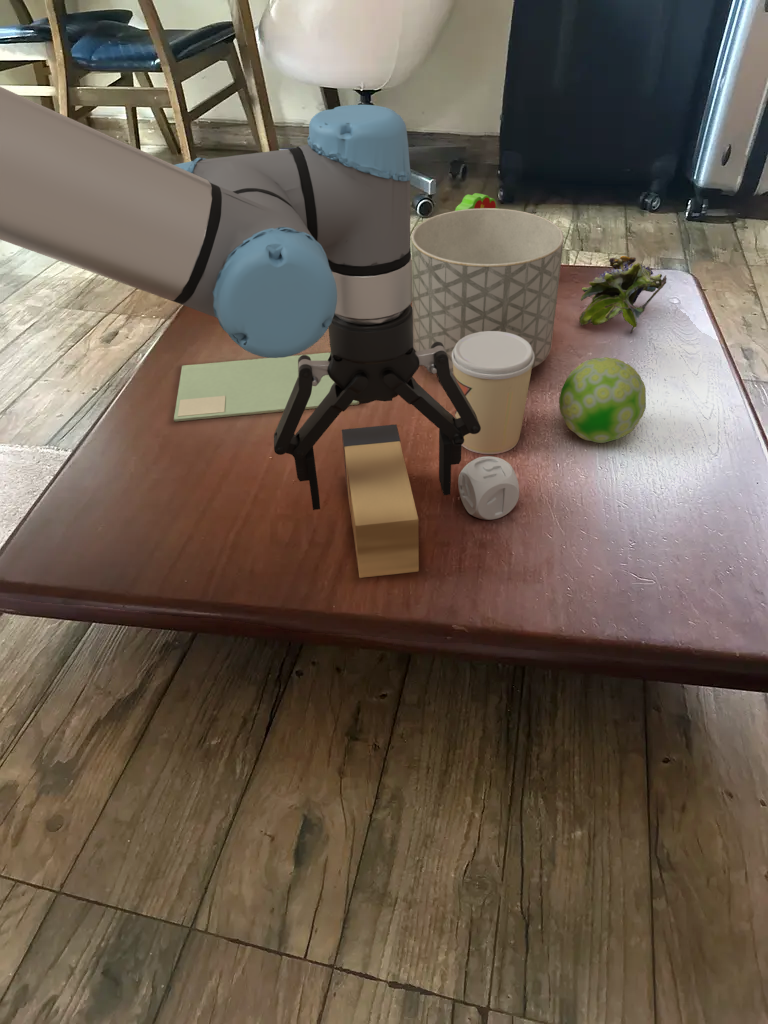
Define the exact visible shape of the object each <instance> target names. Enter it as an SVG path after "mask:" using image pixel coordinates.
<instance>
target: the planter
mask: <svg viewBox="0 0 768 1024" xmlns="http://www.w3.org/2000/svg"><path fill="white" fill-rule="evenodd" d="M498 208H499V207H498ZM498 208H476V209H465V210H457V211H455V210H452V211H448V212H443V213H440V214H437V215H434V216H432V217H428V218H427V219H425V220H423V221H421V223H419V224H417V225H416V227H414V229H413V230H412V232H411V236H410V246H411V267H412V302H411V306H412V309H413V347H414V349H415V351H416V352H417V351H422V350H427V349H431V346H432V344H433V343H435V342H441V343H442V344H443V346H444V348H445V351H446V354H447V356H448V360H449V368H450V370H451V372H452V374H453V362H452V351H453V349H454V347H455V345H456V344H457V342H458V341H459V340H460V339H462V338H463V337H465V336H467V335H470V334H473V333H477V332H484V331H500V332H507V333H511V334H514V335H517V336H519V337H521V338H523V339H525V340H526V341H527V342H528V343H529V344H530V345H531V347H532V350H533V352H534V363H533V365H532V369H534V368H535V367H538V366H539V365H540V364H542V363H543V362H544V361H546V359H547V358H548V356H549V355H550V353H551V350H552V345H553V337H554V336H553V335H554V327H555V318H556V309H557V301H558V291H559V284H560V283H559V282H560V275H561V267H562V257H563V256H562V255H563V250H564V239H565V238H564V237H565V236H564V233H563V230H562V229H561V228H560V227H559V226H558V225H557V224H556V223H555V222H554V221H551V220H549V219H548V218H545V217H544V216H540V215H538V214H534V213H531V212H527V211H522V210H518V209H517V210H516V209H510V208H509V209H508V208H499V209H498Z"/></svg>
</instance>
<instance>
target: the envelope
mask: <svg viewBox="0 0 768 1024" xmlns="http://www.w3.org/2000/svg"><path fill="white" fill-rule="evenodd" d="M330 353H331V351H330V352H319V353H308V354H306V355H307V356H309V357H310V358H311V361H328V359H329V357H330ZM302 355H303V354H295V355H292V356H287V357H282V358H267V357H261V358H252V359H242V360H229V361H220V362H207V363H196V364H186V365H181V370H180V377H179V383H178V389H177V394H176V395H177V396H176V403H175V408H174V416H173V422H174V423H175V422H186V421H187V422H188V421H197V420H208V419H217V418H218V419H219V418H230V417H239V416H240V417H241V416H250V415H251V416H252V415H258V414H259V415H261V414H271V413H283V412H284V409H285V407H286V405H287V402H288V400H289V397H290V395H291V393H292V390H293V388H294V385H295V383H296V380H297V378H298V359H299V357H300V356H302ZM333 384H334V381H333V380H332V379H331V378H330V377H329V375H325V376H323V377H322V378H321V380H320V382H319V384H317V386H312V392H311V395H310V398H309V401H308V403H307V405H306V407H305V410H313V409H314V410H315V409H316V408H317V407H318V406H319V404H320V403H321V402H322V401H323V399H324V398H325V397H326V396H327V394H328V393H329V391H330V389H331V386H332V385H333ZM355 405H357V406H358V405H360V402H359V401H355V400H353V402H352V403H351V404H350V405H349V406H355Z"/></svg>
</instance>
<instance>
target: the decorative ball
mask: <svg viewBox="0 0 768 1024" xmlns="http://www.w3.org/2000/svg"><path fill="white" fill-rule="evenodd" d="M646 392H647V388H646V384H645V382H644V381H643V379H642V377H641V375H640V374H639V373H638V371H637V370H636V369H635V368H634V367H633V366H631V365H630V364H629V363H626V362H625V361H623V360H621V359H618V358H615V357H607V356H605V357H594V358H590V359H587V360H585V361H584V362H581V363H580V364H578V365H577V366H576V367H575V368H574V369H573V370H571V371H570V372H569V375H568V376H567V377H566V379H565V381H564V383H563V385H562V388H561V390H560V393H559V397H558V403H559V404H558V409H559V412H560V415H561V417H562V419H563V421H564V423H565V425H566V427H567V429H568V430H570V431H571V432H572V433H574V434H575V435H577V436H578V438H580V439H582V440H585V441H589V442H593V443H600V444H604V443H608V442H612V441H616V440H619V439H620V438H624V437H625V436H627V435H629V434H630V433H631V432H632V431H634V430H635V429H636V426H637V425H638V424H639V423H640V421H641V420H642V418H643V416H644V414H645V412H646V407H647V401H646V400H647V397H646V396H647V393H646Z"/></svg>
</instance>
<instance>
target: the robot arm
mask: <svg viewBox="0 0 768 1024" xmlns="http://www.w3.org/2000/svg"><path fill="white" fill-rule="evenodd" d="M308 124H309V125H308V136H307V138H306V140H307V144H304V145H299V146H296V147H293V148H286V149H278V150H271V151H270V150H269V151H262V152H254V153H245V154H236V155H230V156H221V157H213V158H205V157H196V158H194V159H193V160H191V161H186V162H185V161H184V162H181V163H176V164H173V163H170V162H168V161H166V160H164V159H161V158H159V157H157V156H155V155H154V154H151V153H148V152H146V151H144V150H142V149H139V148H138V147H135V146H133V145H131V144H129V143H126V142H124V141H122V140H119V139H117V138H116V137H113V136H110V135H108V134H106V133H104V132H101V131H100V130H97V129H96V128H93V127H91V126H89V125H87V124H84V123H82V122H80V121H77V120H75V119H73V118H71V117H68V116H66V115H64V114H61V113H60V112H58V111H56V110H53V109H52V108H49V107H46V106H44V105H42V104H39V103H37V102H35V101H33V100H31V99H29V98H27V97H24V96H22V95H20V94H18V93H15V92H13V91H11V90H9V89H6V88H4V87H2V86H0V241H3V242H5V243H8V244H11V245H15V246H17V247H19V248H23V249H25V250H28V251H31V252H34V253H35V254H38V255H39V254H40V255H42V256H45V257H47V258H51V259H54V260H56V261H58V262H62V263H65V264H67V265H69V266H73V267H76V268H78V269H80V270H81V269H82V270H84V271H86V272H90V273H92V274H96V275H97V276H100V277H104V278H107V279H110V280H112V281H115V282H118V283H121V284H123V285H126V286H129V287H131V288H134V289H137V290H140V291H143V292H145V293H149V294H151V295H154V296H157V297H160V298H163V299H165V300H167V301H171V302H174V303H176V304H179V305H182V306H184V307H187V308H190V309H192V310H195V311H197V312H200V313H203V314H206V315H208V316H211V317H214V318H216V319H217V320H218V323H219V325H220V327H221V329H222V330H223V331H224V332H225V333H226V334H227V335H228V336H229V337H230V339H231V340H232V341H233V342H234V343H235V344H236V345H238V346H239V347H240V348H242V349H243V350H245V351H246V352H248V353H250V354H252V355H254V356H258V357H261V358H282V357H287V356H296V355H299V354H300V353H302V352H304V351H306V350H308V349H310V348H311V347H312V346H314V345H316V344H317V342H318V341H320V340H321V338H322V337H323V336H324V335H325V334H326V333H327V331H328V337H329V347H330V349H329V350H330V352H331V353H330V357H329V359H328V361H311V358H310V357H309V356H307V354H301V355H302V356H300V357H299V359H298V378H297V380H296V383H295V385H294V388H293V390H292V393H291V395H290V397H289V400H288V402H287V405H286V407H285V409H284V411H283V412H282V414H281V417H280V419H279V421H278V424H277V427H276V429H275V431H274V434H273V451H274V453H275V454H276V455H279V456H283V455H285V454H288V455H291V456H292V457H293V460H294V464H295V472H296V478H297V480H298V481H299V482H309V483H308V484H309V490H310V496H311V505H312V511H317V510H321V501H320V491H319V483H318V475H317V467H316V459H315V451H314V450H315V449H314V446H315V445H316V444H317V442H318V441H319V440H320V438H321V437H322V436H323V435H324V434H325V432H326V431H327V430H328V429H329V428H330V427H331V425H332V424H333V422H334V421H335V420H336V419H337V418H338V417H339V415H340V414H341V413H342V412H345V411H346V410H347V409H348V408H349V406H351V405H350V404H351V403H352V402H353V400H355V401H359V405H364V404H369V403H372V402H375V401H378V402H392V401H393V399H394V398H396V397H397V396H399V397H400V398H401V399H402V400H404V402H405V403H407V404H408V405H412V407H414V408H415V409H416V410H417V411H418V412H419V413H421V414H422V415H423V416H424V417H425V418H426V419H427V420H428V421H430V422H431V424H433V425H434V426H436V428H437V429H438V481H439V485H440V488H441V492H442V495H443V496H451V494H452V493H451V492H452V465H453V466H454V465H459V464H460V463H461V461H462V444H463V443H464V436H465V435H467V434H469V433H471V434H477V433H479V432H480V430H481V427H480V424H479V421H478V419H477V416H476V414H475V412H474V410H473V408H472V407H471V405H470V403H469V401H468V400H467V398H466V396H465V394H464V393H463V391H462V389H461V388H460V386H459V384H458V382H457V381H456V379H455V377H454V375H453V374H452V372H451V370H450V368H449V360H448V356H447V354H446V351H445V348H444V346H443V344H442V343H441V342H435V343H433V344H432V346H431V349H427V350H422V351H417V352H416V351H415V349H414V347H413V309H412V246H411V180H412V171H411V165H410V150H409V140H408V130H407V125H406V122H405V121H404V119H403V117H402V116H401V114H399V113H397V112H396V111H395V110H393V109H391V108H389V107H385V106H381V105H375V104H374V105H373V104H349V105H347V104H346V105H340V106H336V107H334V108H332V109H324V110H321V111H319V112H317V113H316V114H315V115H314V116H313V117H312V118H310V121H309V123H308ZM420 366H422V367H425V368H426V371H427V372H428V373H430V374H432V375H436V376H437V379H438V381H439V384H440V386H441V387H442V389H443V391H444V392H445V394H446V396H447V397H448V399H449V401H450V402H451V404H452V405H453V407H454V410H455V409H456V410H457V412H458V414H459V415H460V417H461V418H458V419H456V418H455V415H452V413H450V412H449V411H448V410H447V409H446V408H445V407H444V406H443V405H442V404H440V402H439V401H438V400H436V399H435V398H434V397H433V396H432V395H431V394H430V393H429V392H428V391H427V390H425V388H424V387H422V386H421V385H420V384H419V383H418V382H417V381H416V378H414V375H415V374H416V373H417V371H418V370H419V367H420ZM325 375H329V377H330V378H331V379H332V380H333V381H334V384H333V385H332V386H331V389H330V391H329V393H328V394H327V396H326V397H325V398H324V399H323V401H322V402H321V403H320V404H319V406H318V407H317V408H315V409H314V411H313V412H312V413H311V414H310V415H309V417H308V418H307V419H306V420H305V422H304V423H303V424H302V425H301V427H299V429H298V430H297V428H298V426H299V424H300V421H301V419H302V417H303V415H304V412H305V410H306V409H305V407H306V405H307V403H308V401H309V398H310V395H311V392H312V386H317V384H319V382H320V380H321V378H322V377H323V376H325ZM296 430H297V432H296Z"/></svg>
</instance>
